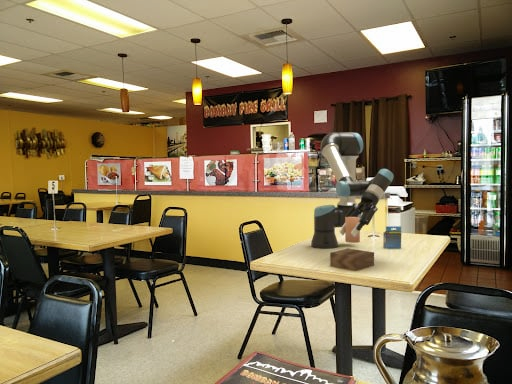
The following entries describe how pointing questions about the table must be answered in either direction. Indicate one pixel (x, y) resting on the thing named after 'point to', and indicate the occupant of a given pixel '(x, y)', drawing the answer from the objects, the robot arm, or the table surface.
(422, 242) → the table surface
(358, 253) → the walnut block
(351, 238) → the terracotta canister
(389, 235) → the label tape box
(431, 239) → the table surface
